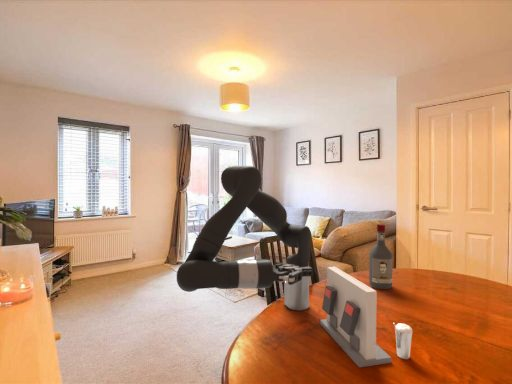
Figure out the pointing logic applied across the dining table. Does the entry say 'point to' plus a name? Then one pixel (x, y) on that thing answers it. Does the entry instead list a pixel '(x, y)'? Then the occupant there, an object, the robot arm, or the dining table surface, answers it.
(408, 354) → the milkshake
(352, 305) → the rocker outlet
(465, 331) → the dining table surface
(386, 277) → the liquor
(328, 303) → the rocker outlet
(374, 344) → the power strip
